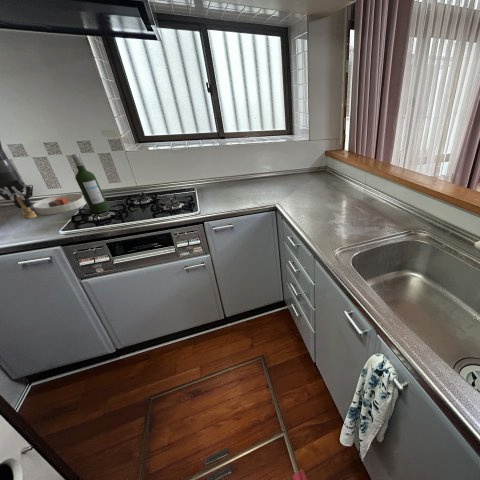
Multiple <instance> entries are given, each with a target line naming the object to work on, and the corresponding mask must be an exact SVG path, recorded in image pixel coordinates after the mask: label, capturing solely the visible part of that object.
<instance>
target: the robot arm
mask: <svg viewBox="0 0 480 480" xmlns="http://www.w3.org/2000/svg"><path fill="white" fill-rule="evenodd" d="M33 192H34V185H33V184H26V183H24V182H23V181H22V180H21V176H20V175H19V173H18V171H17V170H16V168H15V166H14V164H13V163H12V161H11V160H10V159H9V157H8V156H7V154H6V152H5V150H4V148H3V145H2V142H1V140H0V197H1V198H2V199H4V200H5V201H11V202H13V204H14V206H15V207H16V208H18V209H22V208H21V206H20V205H19V203H18V201H17V200H16V197H21V199H22V201H23V202H24V204H25V206H26V207H27V208H31V207H32V206H33V203H32V202H31V201H30V198H31V197H33Z"/></svg>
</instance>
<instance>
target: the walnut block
mask: <svg viewBox="0 0 480 480" xmlns="http://www.w3.org/2000/svg"><path fill="white" fill-rule="evenodd" d="M48 204H49V206H50V207H56V206H61V203H60V201H51V202H50V203H48Z"/></svg>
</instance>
